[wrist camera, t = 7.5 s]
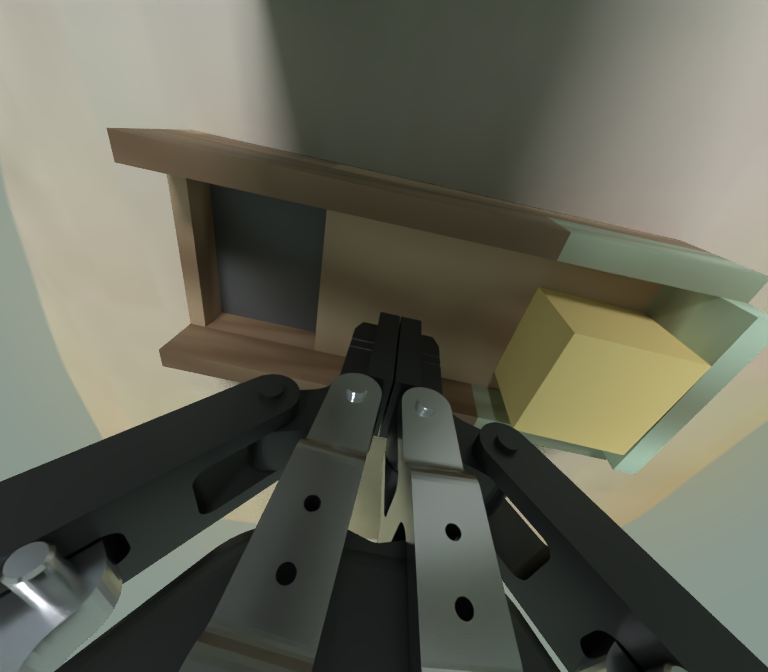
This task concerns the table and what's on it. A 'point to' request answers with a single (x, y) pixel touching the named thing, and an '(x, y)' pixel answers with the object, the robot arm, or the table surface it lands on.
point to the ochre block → (592, 372)
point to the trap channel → (414, 275)
